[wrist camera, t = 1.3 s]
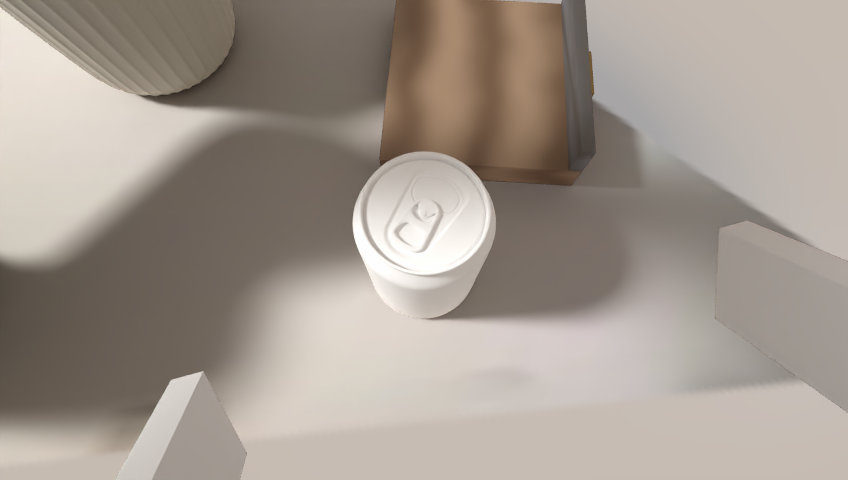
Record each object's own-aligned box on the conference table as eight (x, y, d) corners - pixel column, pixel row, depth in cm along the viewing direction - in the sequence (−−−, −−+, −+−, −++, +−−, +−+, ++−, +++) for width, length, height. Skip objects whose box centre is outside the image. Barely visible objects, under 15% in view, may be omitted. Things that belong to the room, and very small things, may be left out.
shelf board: (381, 174, 38) (375, 139, 33) (398, 16, 43) (395, -35, 38) (576, 185, 38) (601, 152, 32) (567, 26, 43) (588, -25, 38)
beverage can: (492, 252, 36) (526, 187, 24) (441, 340, 33) (452, 314, 22) (406, 203, 37) (400, 120, 26) (351, 285, 35) (318, 233, 23)
